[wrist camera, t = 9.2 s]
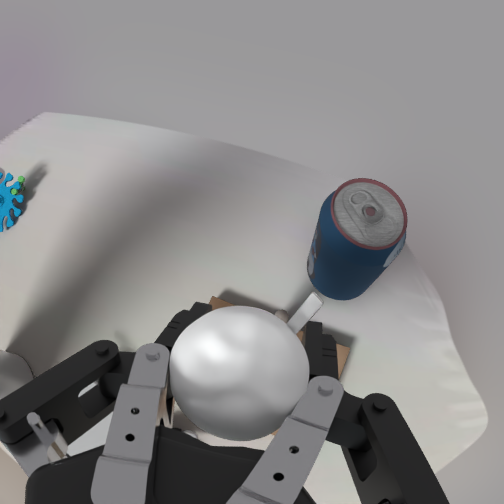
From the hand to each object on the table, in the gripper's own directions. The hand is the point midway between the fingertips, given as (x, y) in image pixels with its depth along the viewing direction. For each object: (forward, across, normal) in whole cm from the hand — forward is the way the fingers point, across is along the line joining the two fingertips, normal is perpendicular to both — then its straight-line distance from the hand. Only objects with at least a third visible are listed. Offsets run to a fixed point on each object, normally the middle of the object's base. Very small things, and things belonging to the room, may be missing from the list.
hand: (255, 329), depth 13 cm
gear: (+19, +45, +2) cm, 49 cm away
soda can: (+18, -6, +4) cm, 19 cm away
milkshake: (+2, 0, +4) cm, 5 cm away
